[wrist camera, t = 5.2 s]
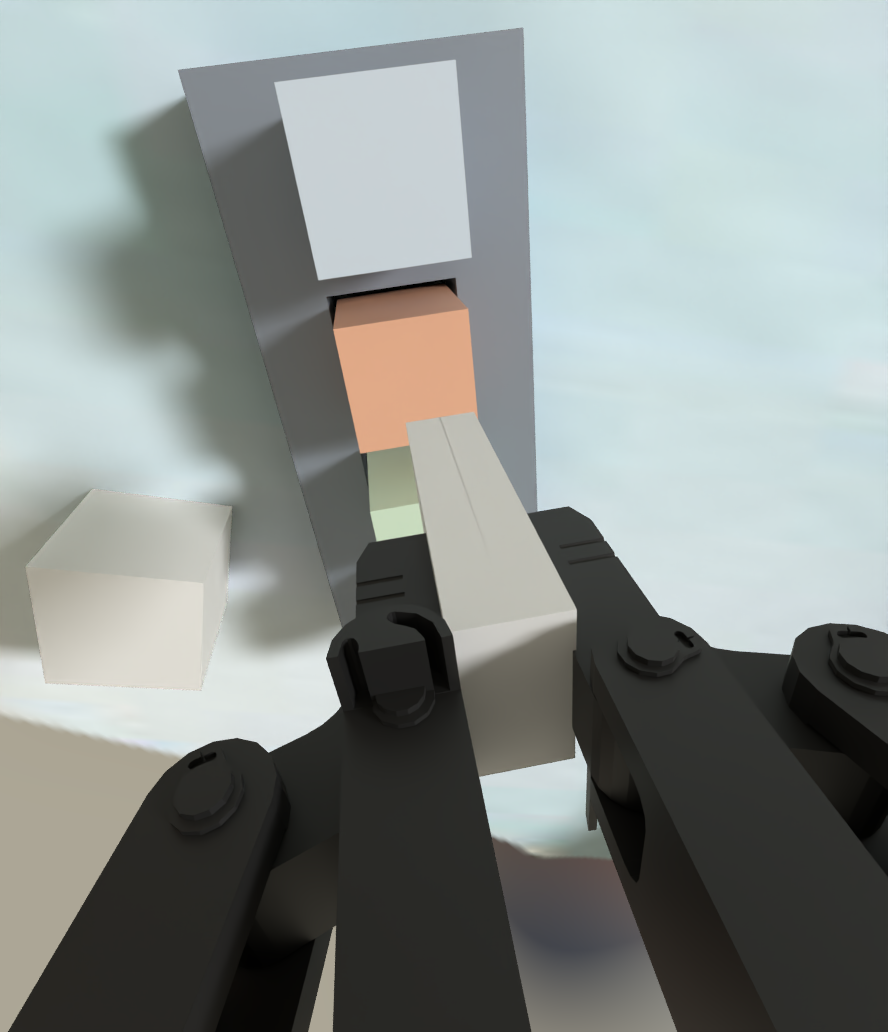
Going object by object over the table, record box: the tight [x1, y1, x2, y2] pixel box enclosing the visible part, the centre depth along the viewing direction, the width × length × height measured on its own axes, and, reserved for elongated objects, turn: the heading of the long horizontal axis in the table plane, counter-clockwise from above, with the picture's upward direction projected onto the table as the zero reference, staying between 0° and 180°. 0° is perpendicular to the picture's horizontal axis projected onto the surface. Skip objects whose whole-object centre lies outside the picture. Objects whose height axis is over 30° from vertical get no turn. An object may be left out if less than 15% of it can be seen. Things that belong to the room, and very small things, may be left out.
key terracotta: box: [333, 283, 478, 454], centre depth 19 cm, size 4×4×5 cm
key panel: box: [178, 28, 537, 628], centre depth 23 cm, size 23×10×3 cm, turn 7°
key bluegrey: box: [274, 60, 472, 280], centre depth 15 cm, size 4×4×5 cm
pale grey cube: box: [25, 489, 232, 691], centre depth 24 cm, size 6×6×6 cm
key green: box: [367, 446, 424, 541], centre depth 21 cm, size 4×4×5 cm
